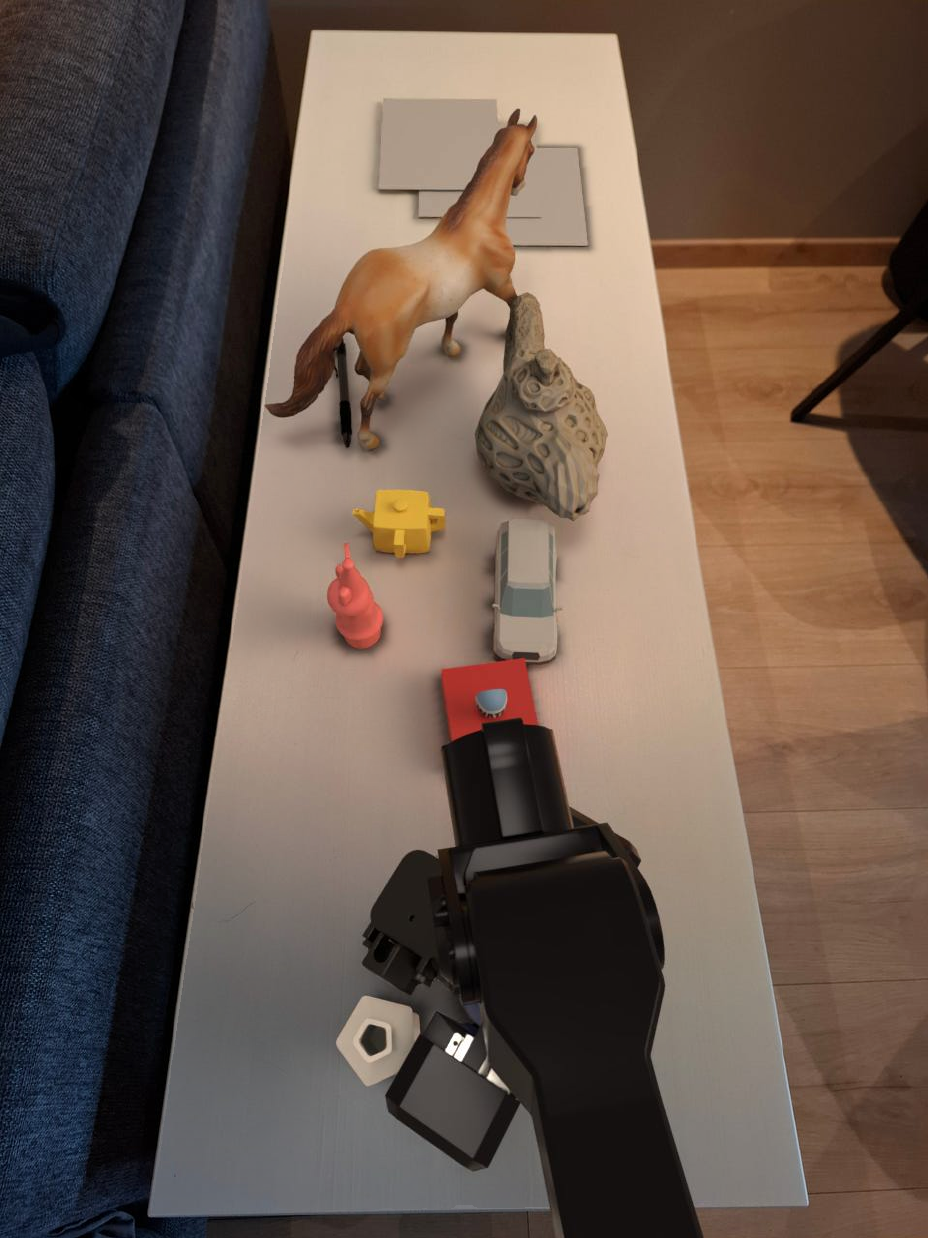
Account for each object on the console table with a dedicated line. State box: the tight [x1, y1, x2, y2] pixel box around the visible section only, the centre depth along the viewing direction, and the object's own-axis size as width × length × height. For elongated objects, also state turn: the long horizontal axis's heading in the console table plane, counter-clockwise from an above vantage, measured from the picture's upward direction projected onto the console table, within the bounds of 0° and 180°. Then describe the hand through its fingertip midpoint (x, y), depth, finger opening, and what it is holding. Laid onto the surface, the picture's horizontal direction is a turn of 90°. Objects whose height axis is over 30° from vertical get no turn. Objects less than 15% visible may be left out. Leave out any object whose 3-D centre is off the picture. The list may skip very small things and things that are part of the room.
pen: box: [333, 337, 353, 449], centre depth 84 cm, size 14×2×1 cm, turn 6°
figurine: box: [326, 542, 384, 650], centre depth 68 cm, size 4×4×12 cm
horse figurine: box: [264, 108, 538, 451], centre depth 77 cm, size 31×8×21 cm, turn 133°
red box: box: [440, 658, 539, 742], centre depth 67 cm, size 8×7×6 cm
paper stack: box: [378, 97, 589, 247], centre depth 100 cm, size 23×25×1 cm
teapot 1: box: [352, 489, 447, 559], centre depth 75 cm, size 8×6×5 cm
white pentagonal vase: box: [335, 995, 421, 1087], centre depth 52 cm, size 5×4×15 cm
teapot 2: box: [474, 292, 609, 522], centre depth 75 cm, size 21×12×15 cm, turn 12°
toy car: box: [491, 518, 563, 666], centre depth 73 cm, size 6×13×5 cm, turn 178°
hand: (509, 982), depth 55 cm, fingers closed on jar lid, 6 cm apart
